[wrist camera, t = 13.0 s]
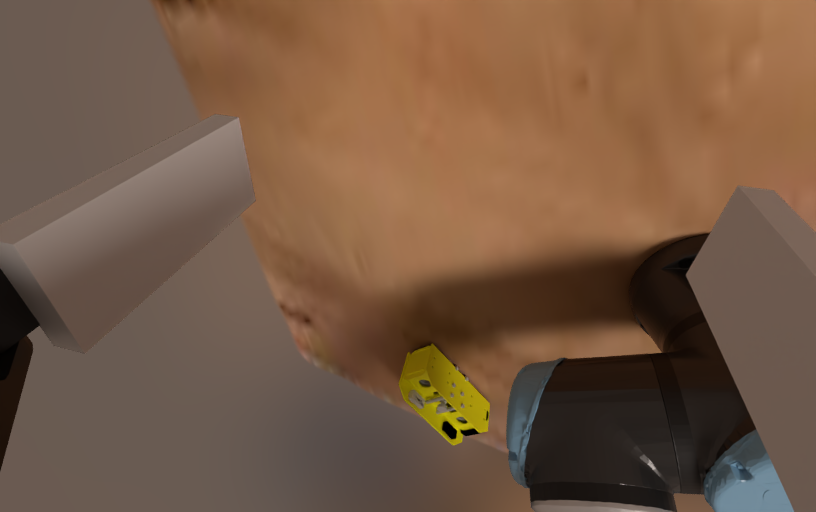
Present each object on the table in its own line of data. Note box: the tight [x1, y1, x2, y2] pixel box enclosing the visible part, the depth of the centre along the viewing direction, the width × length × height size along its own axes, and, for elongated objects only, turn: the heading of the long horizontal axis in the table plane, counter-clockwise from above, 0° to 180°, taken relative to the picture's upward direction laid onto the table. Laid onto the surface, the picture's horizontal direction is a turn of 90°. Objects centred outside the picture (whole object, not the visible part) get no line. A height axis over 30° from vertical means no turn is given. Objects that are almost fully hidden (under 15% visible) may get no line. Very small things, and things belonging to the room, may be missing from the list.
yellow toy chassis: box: [399, 343, 490, 445], centre depth 64 cm, size 16×6×8 cm, turn 40°
